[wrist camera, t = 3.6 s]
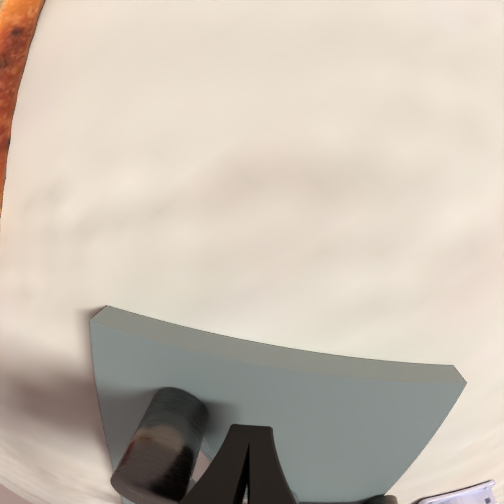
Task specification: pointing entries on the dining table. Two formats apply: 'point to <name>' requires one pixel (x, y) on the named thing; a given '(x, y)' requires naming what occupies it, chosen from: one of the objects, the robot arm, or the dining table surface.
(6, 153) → the slice of bread
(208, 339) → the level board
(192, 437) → the capstan
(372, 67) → the dining table surface
